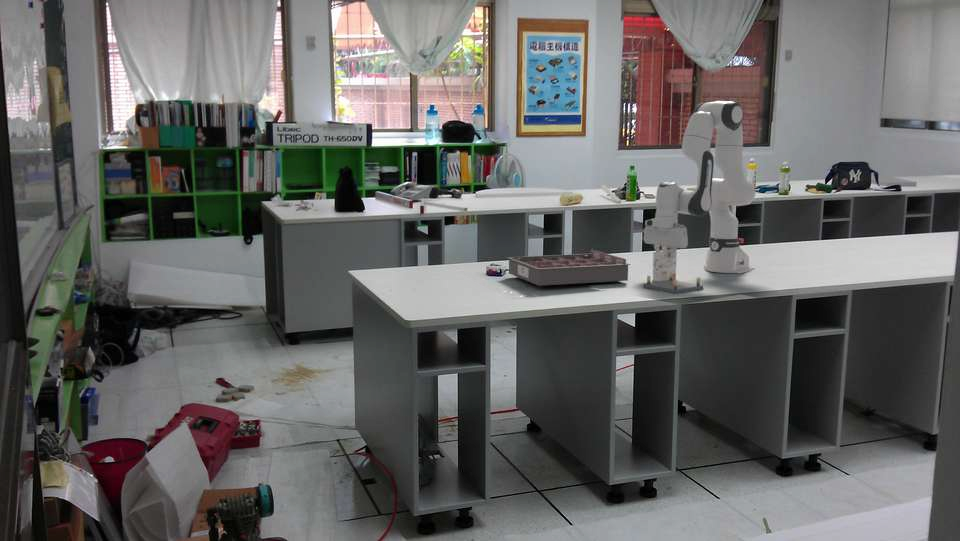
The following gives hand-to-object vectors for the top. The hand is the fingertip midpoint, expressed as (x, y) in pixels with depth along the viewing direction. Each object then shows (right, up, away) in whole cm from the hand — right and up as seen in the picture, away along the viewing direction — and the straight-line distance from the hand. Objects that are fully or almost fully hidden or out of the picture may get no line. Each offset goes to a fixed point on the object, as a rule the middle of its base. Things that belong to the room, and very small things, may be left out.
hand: (664, 256), depth 358 cm
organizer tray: (-39, -10, +1) cm, 40 cm away
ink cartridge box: (0, -10, +2) cm, 10 cm away
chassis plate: (0, -12, -16) cm, 20 cm away
